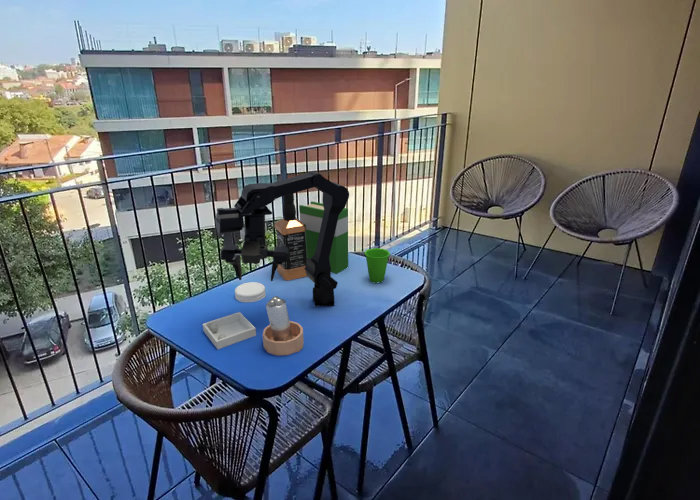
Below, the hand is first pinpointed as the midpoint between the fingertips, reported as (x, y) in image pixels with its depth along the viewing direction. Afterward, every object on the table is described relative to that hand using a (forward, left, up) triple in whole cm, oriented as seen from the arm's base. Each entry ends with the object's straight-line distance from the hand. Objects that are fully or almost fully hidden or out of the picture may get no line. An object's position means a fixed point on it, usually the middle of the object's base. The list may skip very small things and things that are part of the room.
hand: (256, 280), depth 122 cm
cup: (-39, -24, -13) cm, 48 cm away
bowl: (-9, +15, -13) cm, 22 cm away
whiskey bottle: (-8, -32, -13) cm, 36 cm away
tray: (+7, +9, -13) cm, 17 cm away
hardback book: (-20, -39, -13) cm, 46 cm away
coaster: (+5, -14, -14) cm, 20 cm away
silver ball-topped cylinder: (-9, +15, -12) cm, 21 cm away
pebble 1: (+12, +8, -12) cm, 19 cm away
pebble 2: (+8, +13, -12) cm, 20 cm away
